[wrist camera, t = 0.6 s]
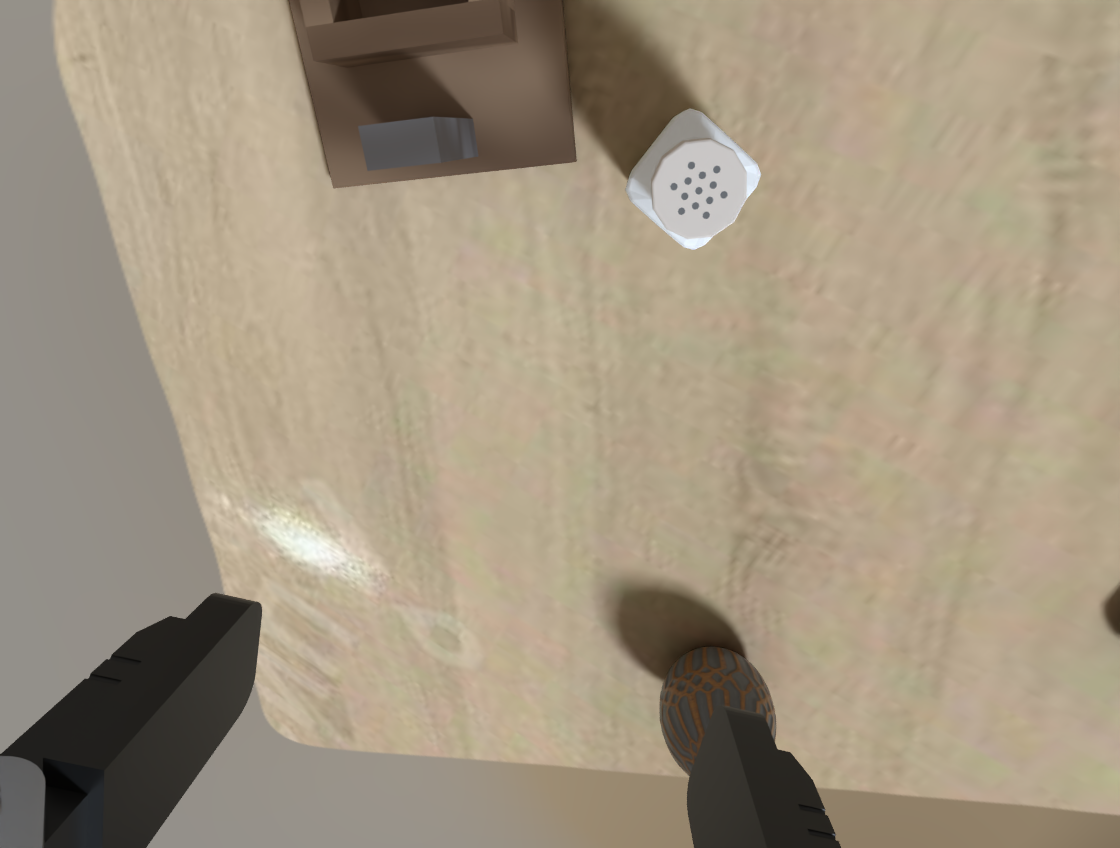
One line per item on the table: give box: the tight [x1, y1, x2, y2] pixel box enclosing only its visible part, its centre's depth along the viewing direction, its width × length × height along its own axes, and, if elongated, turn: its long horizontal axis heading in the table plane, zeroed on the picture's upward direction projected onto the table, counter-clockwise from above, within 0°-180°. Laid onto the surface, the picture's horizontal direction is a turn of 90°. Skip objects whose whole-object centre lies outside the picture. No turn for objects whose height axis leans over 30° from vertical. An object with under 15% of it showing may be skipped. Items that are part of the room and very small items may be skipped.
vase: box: [660, 647, 776, 776], centre depth 38 cm, size 7×7×9 cm
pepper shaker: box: [625, 108, 761, 250], centre depth 25 cm, size 4×4×10 cm
